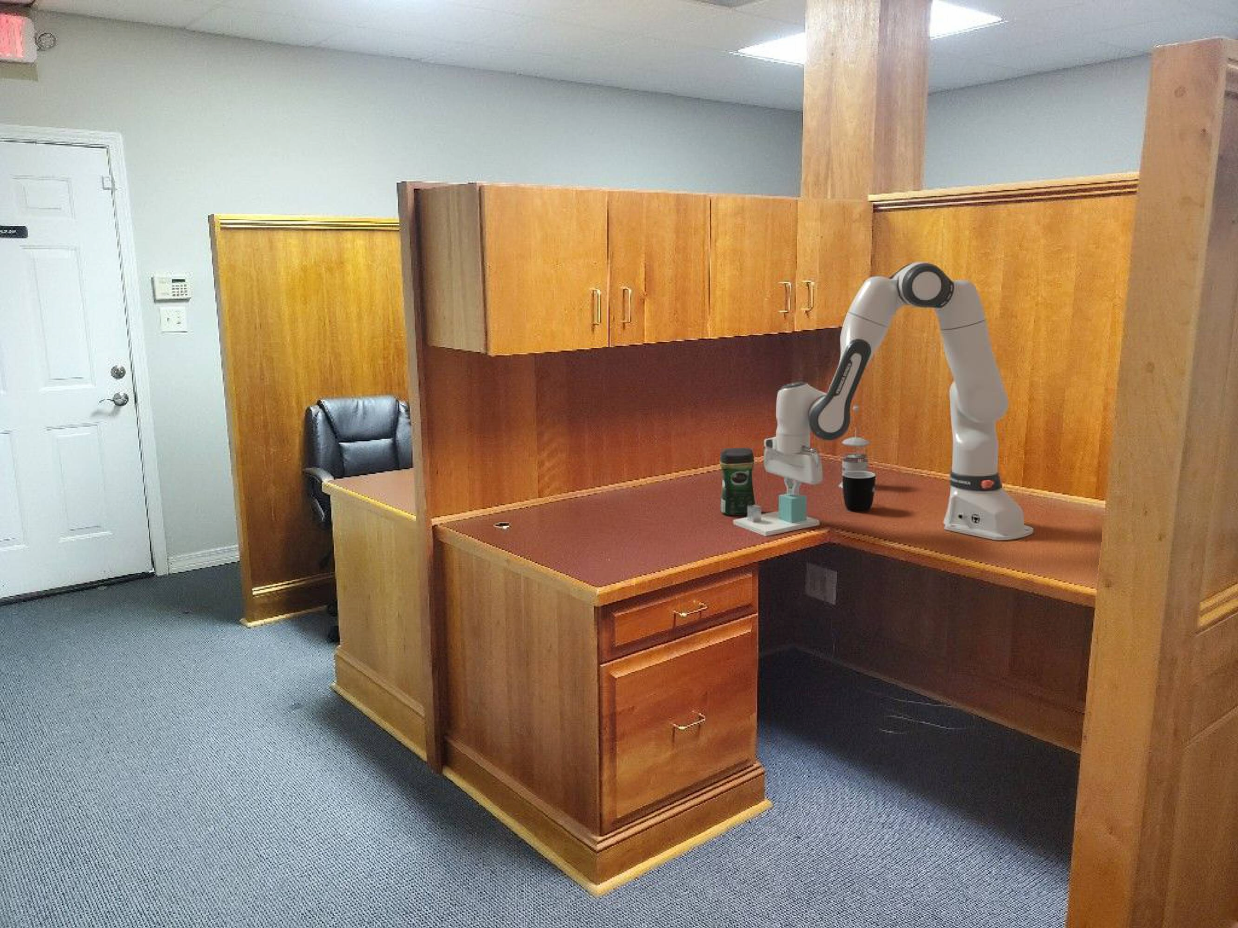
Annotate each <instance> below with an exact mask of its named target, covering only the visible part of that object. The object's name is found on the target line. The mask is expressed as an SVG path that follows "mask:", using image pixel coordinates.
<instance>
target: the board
mask: <svg viewBox="0 0 1238 928" xmlns="http://www.w3.org/2000/svg"><path fill="white" fill-rule="evenodd" d="M732 522H733V525H735V526H737V527H739V528H742V529H746V530H747V531H750V532H754V533H756V534H759V535H762V536H764V537H769V536H773V535H777V534H782V533H787V532H791V531H792V532H793V531H797V530H801V529H802V530H803V529H806V528H810V527H816V526H820V520H818V519H816V518H813V517H810V516H807V520H804V521H800V522H795V523H789V522H786V521H783V520H781V519H779V510H776V511H772V512H766V513H761V521H759V522H754V523H753V522H750V521H748V520H747V516H746V517H741V518H736V519H733V520H732Z"/></svg>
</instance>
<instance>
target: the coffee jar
mask: <svg viewBox="0 0 1238 928" xmlns="http://www.w3.org/2000/svg"><path fill="white" fill-rule="evenodd" d="M753 452H754V451H753V450H752V448H750V447H732V448H722V449H721V450H720V456H719V457H720V459H719V466H720V469H721V471H722V476H721V477H722V483H721V497H720V498H721V499H720V512H721V513H722V515H723V514H724V515H727V516H743V515H745V516H747V506H751V505H756V501H755V499H756V498H755V493H754V486H753V468H754V466H755V458H754V453H753Z"/></svg>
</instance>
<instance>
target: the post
mask: <svg viewBox="0 0 1238 928" xmlns="http://www.w3.org/2000/svg"><path fill="white" fill-rule="evenodd" d="M761 514H762V506H760V505H758V504H755V505H751V506H747V514H746V517H747V520H748V521H750V522H753V523H754V522H759V521H761Z"/></svg>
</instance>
